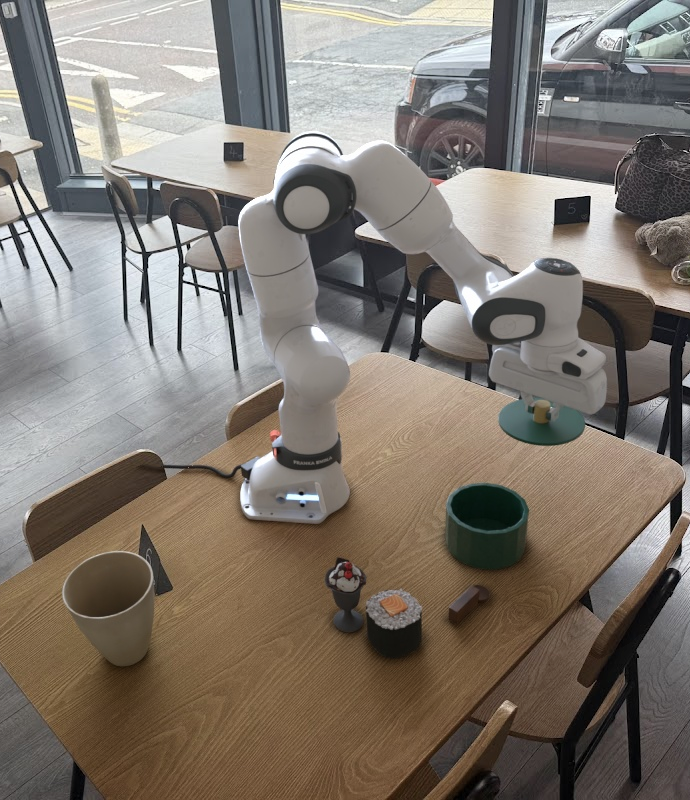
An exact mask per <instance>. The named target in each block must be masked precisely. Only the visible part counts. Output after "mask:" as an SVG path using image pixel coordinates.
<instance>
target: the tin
mask: <svg viewBox="0 0 690 800" xmlns="http://www.w3.org/2000/svg"><path fill="white" fill-rule="evenodd" d="M529 518H530V508H529V506H528V504H527V501H526V499H525V498H523V496H521V495H520V494H519V493H518V492H517V491H515V490H513V489H511V488H509V487H506V486H504V485H502V484H496V483H491V482H475V483H473V482H472V483H469V484H465V485H463V486H459V487H457V488H456V489H455V490H454V491H453V492H452V493H450V494H449V496H448V498H447V501H446V503H445V524H444V525H445V528H444V531H445V532H444V539H445V545H446V547H447V550H448V552H449V553H450V554H451V555H452V556H453V557H454V558H455V559H457V560H458V561H459V562H461V563H462V564H464V565H467V566H469V567H472V568H476V569H481V570H501V569H505V568H508V567H511V566H513V565H514V564H516V563H517V562H519V561H520V560H521V558H523V556H524V554H525V551H526V550H525V549H526V545H527V536H528V527H529Z"/></svg>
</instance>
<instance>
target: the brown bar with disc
mask: <svg viewBox="0 0 690 800" xmlns="http://www.w3.org/2000/svg"><path fill="white" fill-rule="evenodd" d="M490 598H491V591H490V590H489V589H488V588H487V587H486V586H484V585H481V584H475V585H470V586H469V587H468V589H466V590H465V591H464V592H463V593H462V594H461V595H460V596H459V597H458V598H457V599H456V600H455V601H454V602H453V603H452V604H451V605H449V607H448V621H450V622H451V623H453V624H454V625H459V623H460V622H461V621H462V620H464V618H465V617H466V616H467V615H468V614H470V612H471V611H472V610H473V609H474V608H475V607H476V606H478V605H483V604H486V603H488V602H489V600H490Z"/></svg>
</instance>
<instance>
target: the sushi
mask: <svg viewBox="0 0 690 800" xmlns="http://www.w3.org/2000/svg"><path fill="white" fill-rule="evenodd" d="M365 606H366V607H365V615H366V635H367V636H366V637H367V640H368V641H369V643H370V644H371V646H372V648H373V649H374V650H375V651H376V652H377V653H378V654H379V655H380V656H383V658H387V659H393V660H394V659H400V658H403V657H406V656H408V655H410V654H412V653H414V652H416V651H417V650H418V649H419V648H420V647H421V644H422V632H423V631H422V629H423V628H422V626H423V624H422V623H423V621H422V620H423V619H422V618H423V612H422V611H423V606H422V605H420V603H419V601H418V599H416V597H414V596H411V593H410V592H408V591H404V590H403V588H400V589H396V590H395V589H391V590H389V589H386V590H382V591H378V593H377V594H373V595H372V596H371V597H370V598H369V599H368V600H367V601H365Z"/></svg>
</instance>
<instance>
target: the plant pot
mask: <svg viewBox="0 0 690 800" xmlns="http://www.w3.org/2000/svg"><path fill="white" fill-rule="evenodd" d="M154 583H155V582H154V572H153V568H152V566H151V564H150V563H149V562H148V560H147V559H145V558H144V557H143V556H141V555H140V554H137V553H135V552H131V551H125V550H113V551H107V552H102V553H99V554H96V555H93V556H91V557H89V558H87V559H85V560H84V561H82V562H80V563H79V564H78V565H77V566H75V567H74V568H73V569H72V571H71V572H70V573H69V574H68V575H67V577H66V578H65V581H64V583H63V586H62V589H61V596H62V597H61V598H62V601H63V603H64V605H65V607H66V609H67V611H68V613H69V614H70V616H71V618H72V619H73V621H74V622H75V624H76V625H77V627H78V629H79V630H80V632H81V633H82V635H84V637H85V638H86V640H88V642H89V643H90V644H91V645H92V646H93V647H94V649H95V650H96V651H97V652H98V653H100V655H101V656H102V657H104V658H105V659H106V660H107V661H108V662H109V663H111V664H112V665H114V666H117V667H129V666H132V665H135V664H137V663H139V662H140V661H141V660H142V659H143V658H144V657H146V654H147V653H148V650H149V646H150V642H151V639H152V632H153V626H154V618H155V616H154V615H155V586H154V585H155V584H154Z"/></svg>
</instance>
